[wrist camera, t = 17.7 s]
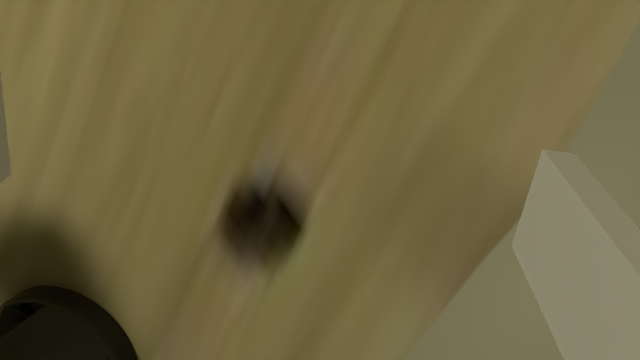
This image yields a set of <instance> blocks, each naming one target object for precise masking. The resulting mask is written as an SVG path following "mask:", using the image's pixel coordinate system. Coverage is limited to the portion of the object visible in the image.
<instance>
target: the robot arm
mask: <svg viewBox="0 0 640 360" xmlns="http://www.w3.org/2000/svg"><path fill="white" fill-rule="evenodd" d="M10 175H11V169H10V159H9V150H8V140H7V131H6V121H5V111H4V102H3V92H2V83H1V73H0V183H1V182H2V181H4V180H5V179H6V178H7V177H9V176H10ZM511 246H512V248H513V250H514V253H515V255H516V257H517V259H518V261H519V263H520V266H521V268H522V270H523V272H524V274H525V276H526V279H527V281H528V283H529V285H530V287H531V289H532V292H533V294H534V296H535V298H536V300H537V302H538V305H539V307H540V309H541V311H542V313H543V316H544V318H545V320H546V322H547V324H548V326H549V329H550V331H551V333H552V335H553V337H554V339H555V341H556V344H557V346H558V348H559V350H560V353H561V355H562V357H563V359H564V360H640V229H639V228H638V227H637V226H636V224H635V223H634V222H633V221H632V220H631V219H630V218H629V216H628V215H627V214H626V213H625V212H624V211H623V210H622V208H621V207H620V206H619V205H618V204H617V203H616V202H615V201H614V199H613V198H612V197H611V196H610V195H609V194H608V192H607V191H606V190H605V189H604V188H603V187H602V185H601V184H600V183H599V182H598V181H597V180H596V179H595V177H594V176H593V175H592V174H591V173H590V172H589V171H588V169H587V168H586V167H585V166H584V165H583V164H582V163H581V161H580V160H579V159H578V158H577V157H576V156H575V155H574V154H571V153H564V152H557V151H550V150H542V153H541V156H540V159H539V162H538V165H537V169H536V172H535V175H534V178H533V181H532V184H531V187H530V190H529V193H528V196H527V199H526V202H525V205H524V209H523V212H522V215H521V218H520V221H519V224H518V227H517V230H516V233H515V236H514V239H513V242H512V245H511ZM0 360H136V358H135V355H134V352H133V350H132V347H131V345H130V343H129V341H128V339H127V338H126V336H125V334H124V333H123V331H122V330H121V329H120V327H119V326H118V325H117V324H116V322H115V321H114V320H113V319H112V318H111V317H110V316H109V315H108V314H107V313H106V312H105V311H104V310H103V309H101V308H100V307H99V306H97V305H96V304H95V303H93V302H92V301H90V300H89V299H87V298H85V297H83V296H81V295H79V294H77V293H75V292H72V291H69V290H66V289H62V288H58V287H48V286H43V287H34V288H30V289H27V290H25V291H22V292H21V293H19V294H17V295H16V296H14V297H13V298H11V299H10V300H8V301H7V302H5V303H4V304H2V305H1V306H0Z"/></svg>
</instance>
